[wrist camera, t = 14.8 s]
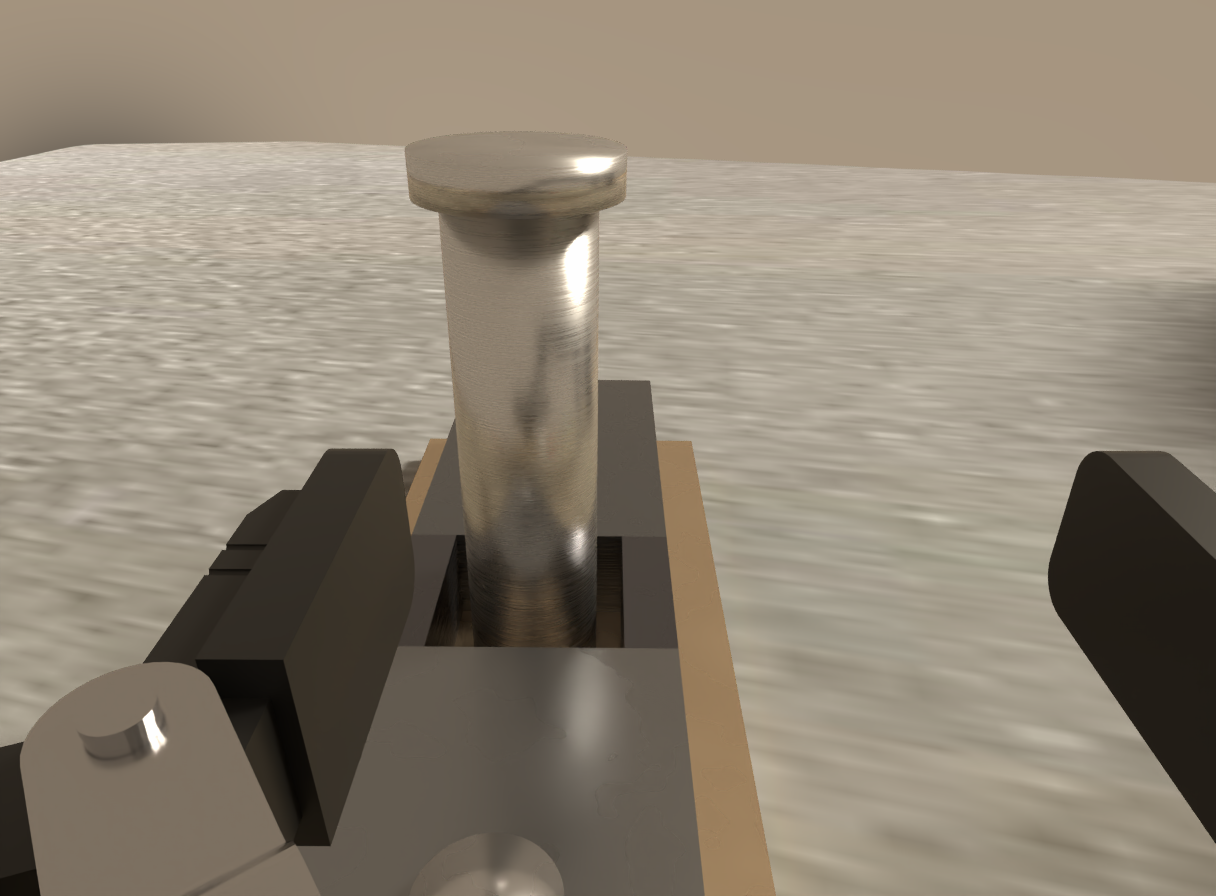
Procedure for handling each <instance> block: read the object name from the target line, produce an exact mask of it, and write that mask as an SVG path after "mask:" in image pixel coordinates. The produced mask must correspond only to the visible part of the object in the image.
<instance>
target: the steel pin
mask: <svg viewBox="0 0 1216 896" xmlns="http://www.w3.org/2000/svg"><path fill="white" fill-rule="evenodd" d="M405 158H406V168H407V179H408V189H409V198H410V201H411V202H413V203H414V204H415V205H417V206H419V207H422V208H424V209H427V210H431V211H434V212H439V224H440V236H441V249H442V261H443V273H444V285H445V298H446V310H447V322H448V334H449V347H450V359H451V371H452V383H453V395H454V408H455V420H456V432H457V444H458V457H459V469H460V481H461V493H462V506H463V518H464V530H465V542H466V554H467V567H468V579H469V591H470V603H471V616H472V628H473V640H474V647H543V648H596V595H597V451H598V305H599V211H600V210H604V209H607V208H610V207H613V206H616V205H618V204H619V203H621V202H622V201H624V200H625V198H626V180H627V147H626V146H625V145H624V144H622V143H620V142H617V141H614V140H610V139H606V138H601V137H595V136H589V135H580V134H570V133H556V132H533V131H530V132H528V131H503V132H479V133H465V134H454V135H446V136H439V137H433V138H428V139H424V140H420V141H417V142H413V143H411V144H409V145H408V146H406V147H405Z"/></svg>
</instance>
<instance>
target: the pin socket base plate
mask: <svg viewBox="0 0 1216 896" xmlns="http://www.w3.org/2000/svg"><path fill="white" fill-rule="evenodd" d="M406 505H407V512H408V519H409V526H410V533H411V540H412V547H413V554H414V564H415V581H414V592H413V599H412V604H411V608H410V612H409V615H408V618H407V621H406V624H405V627H404V630H403V633H402V635H401V638H400V641H399V644H398V647H397V650H396V653H395V656H394V659H393V662H392V665H391V668H390V671H389V674H388V677H387V680H386V683H385V686H384V689H383V692H382V695H381V698H380V701H379V704H378V707H377V710H376V713H375V716H374V719H373V722H372V725H371V728H370V731H369V734H368V737H367V740H366V743H365V746H364V749H363V752H362V755H361V758H360V761H359V764H358V767H357V770H356V773H355V776H354V779H353V782H352V785H351V788H350V791H349V793H348V796H347V799H346V802H345V805H344V808H343V811H342V814H341V817H340V820H339V823H338V826H337V829H336V832H335V835H334V838H333V841H332V844H331V846H297V848H298V850H299V851H300V853H301V855H302V857H303V859H304V861H305V863H306V865H307V867H308V869H309V872H310V874H311V876H312V878H313V880H314V882H315V884H316V887H317V889H318V891H319V893H320V895H321V896H776V894H775V889H774V883H773V878H772V872H771V867H770V862H769V856H768V851H767V846H766V840H765V835H764V829H763V824H762V819H761V813H760V808H759V803H758V797H757V792H756V786H755V781H754V776H753V770H752V765H751V760H750V754H749V749H748V743H747V738H746V733H745V727H744V722H743V717H742V711H741V706H740V700H739V695H738V690H737V684H736V679H735V673H734V668H733V663H732V657H731V652H730V647H729V641H728V636H727V630H726V625H725V620H724V614H723V609H722V604H721V598H720V593H719V587H718V582H717V577H716V571H715V566H714V561H713V555H712V550H711V544H710V539H709V534H708V528H707V523H706V518H705V512H704V507H703V501H702V496H701V491H700V485H699V480H698V475H697V469H696V464H695V458H694V453H693V448H692V442H691V441H656V432H655V423H654V414H653V404H652V395H651V385H650V381H629V380H598V451H597V595H596V648H543V647H474V640H473V628H472V616H471V603H470V591H469V579H468V567H467V554H466V542H465V530H464V518H463V506H462V493H461V481H460V469H459V457H458V444H457V432H456V420H454V422H453V425H452V428H451V430H450V433H449V436H448V438H447V439H430V441H429V444H428V446H427V448H426V451H425V453H424V456H423V458H422V461H421V463H420V465H419V468H418V470H417V473H416V475H415V478H414V480H413V482H412V485H411V487H410V490H409V492H408V495H407V497H406Z"/></svg>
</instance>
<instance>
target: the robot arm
mask: <svg viewBox="0 0 1216 896" xmlns="http://www.w3.org/2000/svg"><path fill="white" fill-rule="evenodd" d="M226 546H227V548H226V550H222V551H221V553H220V554H219V555H218V557H217V558H216V560H215V561H214V563H213V564H212V565H211V567H210V568H209V575H204V577H203V578H202V580H201V581H200V582H199V584H198V585H197V587H196V588H195V590H194V591H193V592H192V594H191V595H190V597H189V598H188V600H187V601H186V602H185V604H184V605H183V607H182V608H181V610H180V611H179V612H178V614H177V615H176V617H175V618H174V620H173V621H172V622H171V624H170V625H169V627H168V628H167V630H166V631H165V632H164V634H163V635H162V637H161V638H160V640H159V641H158V642H157V644H156V645H155V647H154V648H153V650H152V651H151V652H150V654H149V655H148V657H147V658H146V660H145V661H144V662H143V664H138V665H133V666H129V667H125V668H121V669H118V670H115V671H112V672H110V673H107V674H104V675H102V676H100V677H97V678H95V679H93V680H91V681H89V682H87V683H85V684H83V685H82V686H80V687H78V688H76V689H75V690H73V691H72V692H70V693H69V694H67V695H66V696H64V697H63V698H61V699H60V700H59V701H58V702H56V703H55V704H54V705H53V706H52V707H50V708H49V709H48V710H47V711H46V712H45V713H44V714H43V715H42V716H41V718H40V719H39V720H38V721H37V722H36V724H35V725H34V726H33V728H32V729H31V730H30V732H29V734H28V735H27V737H26V739H25V741H24V742H21V743H17V744H13V745H9V746H4V747H0V896H321V895H320V893H319V891H318V889H317V887H316V884H315V882H314V880H313V878H312V876H311V874H310V872H309V869H308V867H307V865H306V863H305V861H304V859H303V857H302V855H301V853H300V851H299V850H298V848H297V846H331V844H332V841H333V838H334V835H335V832H336V829H337V826H338V823H339V820H340V817H341V814H342V811H343V808H344V805H345V802H346V799H347V796H348V793H349V791H350V788H351V785H352V782H353V779H354V776H355V773H356V770H357V767H358V764H359V761H360V758H361V755H362V752H363V749H364V746H365V743H366V740H367V737H368V734H369V731H370V728H371V725H372V722H373V719H374V716H375V713H376V710H377V707H378V704H379V701H380V698H381V695H382V692H383V689H384V686H385V683H386V680H387V677H388V674H389V671H390V668H391V665H392V662H393V659H394V656H395V653H396V650H397V647H398V644H399V641H400V638H401V635H402V633H403V630H404V627H405V624H406V621H407V618H408V615H409V612H410V608H411V604H412V599H413V592H414V581H415V564H414V554H413V547H412V540H411V533H410V526H409V519H408V512H407V505H406V498H405V491H404V484H403V477H402V470H401V464H400V461H399V457H398V455H397V453H396V451H395V450H394V449H328V450H327V451H326V452H325V453H324V455H323V456H322V458H321V459H320V461H319V463H318V464H317V466H316V467H315V469H314V471H313V472H312V474H311V475H310V477H309V479H308V480H307V482H306V483H305V485H304V487H303V488H302V490H282V491H280V492H279V493H277V494H276V495H275V496H273V497H272V498H270V499H269V500H267V501H266V502H265V503H263V504H262V505H260V506H259V507H257V508H256V509H255V510H253V511H252V512H250V513H249V514H247V515H246V517H245V518H244V520H243V521H242V523H241V524H240V525H239V527H238V528H237V530H236V531H235V533H234V534H233V535H232V537H231V538H230V540H229V541H228V543H227V544H226ZM1048 585H1049V592H1050V596H1051V600H1052V603H1053V606H1054V608H1055V610H1056V612H1057V614H1058V616H1059V617H1060V619H1061V620H1062V621H1063V623H1064V624H1065V626H1066V627H1067V629H1068V630H1069V632H1070V633H1071V634H1072V636H1073V637H1074V639H1075V640H1076V642H1077V643H1078V645H1079V646H1080V648H1081V649H1082V650H1083V652H1084V653H1085V655H1086V656H1087V658H1088V659H1089V661H1090V662H1091V663H1092V665H1093V666H1094V668H1095V669H1096V671H1097V672H1098V674H1099V675H1100V677H1101V678H1102V679H1103V681H1104V682H1105V684H1106V685H1107V687H1108V688H1109V690H1110V691H1111V692H1112V694H1113V695H1114V697H1115V698H1116V700H1117V701H1118V703H1119V704H1120V706H1121V707H1122V708H1123V710H1124V711H1125V713H1126V714H1127V716H1128V717H1129V719H1130V720H1131V721H1132V723H1133V724H1134V726H1135V727H1136V729H1137V730H1138V732H1139V733H1140V735H1141V736H1142V737H1143V739H1144V740H1145V742H1146V743H1147V745H1148V746H1149V748H1150V749H1151V750H1152V752H1153V753H1154V755H1155V756H1156V758H1157V759H1158V761H1159V762H1160V764H1161V765H1162V766H1163V768H1164V769H1165V771H1166V772H1167V774H1168V775H1169V777H1170V778H1171V779H1172V781H1173V782H1174V784H1175V785H1176V787H1177V788H1178V790H1179V791H1180V792H1181V794H1182V795H1183V797H1184V798H1185V800H1186V801H1187V803H1188V804H1189V806H1190V807H1191V808H1192V810H1193V811H1194V813H1195V814H1196V816H1197V817H1198V819H1199V820H1200V821H1201V823H1202V824H1203V826H1204V827H1205V829H1206V830H1207V832H1208V833H1209V835H1210V836H1211V837H1212V839H1213V840H1214V842H1215V843H1216V493H1215V492H1214V491H1213V490H1212V489H1210V488H1209V487H1208V486H1207V485H1206V484H1205V483H1203V482H1202V481H1201V480H1200V479H1199V478H1198V477H1197V476H1195V475H1194V474H1193V473H1192V472H1191V471H1190V470H1188V469H1187V468H1186V467H1185V466H1184V465H1183V464H1181V463H1180V462H1179V461H1178V460H1177V459H1176V458H1174V457H1173V456H1172V455H1170V454H1168V453H1166V452H1161V451H1095V452H1092V453H1090V454H1088V455H1087V456H1086V457H1085V458H1084V459H1083V460H1082V462H1081V463H1080V465H1079V467H1078V470H1077V473H1076V476H1075V479H1074V482H1073V486H1072V489H1071V492H1070V496H1069V499H1068V502H1067V505H1066V509H1065V512H1064V515H1063V519H1062V522H1061V525H1060V528H1059V532H1058V535H1057V538H1056V542H1055V545H1054V548H1053V551H1052V555H1051V558H1050V562H1049V569H1048Z"/></svg>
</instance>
